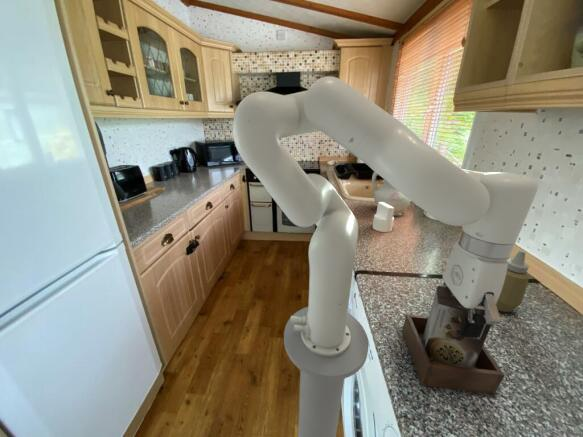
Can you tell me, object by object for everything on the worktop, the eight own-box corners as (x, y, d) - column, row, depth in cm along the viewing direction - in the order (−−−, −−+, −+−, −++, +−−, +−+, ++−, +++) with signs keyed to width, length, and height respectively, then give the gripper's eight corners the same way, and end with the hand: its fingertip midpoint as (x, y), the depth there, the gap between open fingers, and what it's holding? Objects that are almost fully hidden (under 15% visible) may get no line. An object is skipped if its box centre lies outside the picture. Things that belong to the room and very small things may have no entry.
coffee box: (465, 353, 55) (489, 297, 49) (469, 379, 50) (496, 319, 43) (421, 338, 59) (437, 283, 52) (420, 359, 53) (438, 302, 47)
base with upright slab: (395, 231, 115) (400, 207, 111) (379, 232, 113) (383, 208, 109) (384, 223, 123) (388, 201, 119) (368, 225, 121) (372, 202, 117)
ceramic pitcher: (375, 220, 130) (384, 175, 118) (362, 205, 147) (369, 164, 136) (413, 219, 132) (426, 175, 120) (396, 204, 149) (406, 164, 137)
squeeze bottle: (524, 317, 66) (552, 261, 59) (491, 313, 67) (515, 257, 60) (505, 297, 73) (529, 245, 66) (476, 294, 74) (496, 242, 67)
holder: (422, 385, 49) (428, 366, 47) (402, 331, 61) (406, 314, 59) (494, 394, 47) (504, 375, 45) (459, 336, 60) (465, 319, 58)
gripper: (440, 222, 51) (422, 289, 58) (493, 270, 35) (459, 354, 42) (478, 224, 50) (455, 292, 57) (549, 274, 35) (506, 359, 41)
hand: (457, 318), depth 50 cm, fingers closed on coffee box, 7 cm apart
